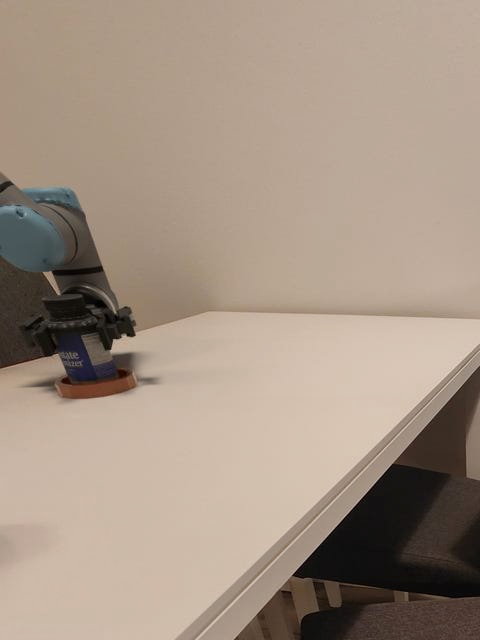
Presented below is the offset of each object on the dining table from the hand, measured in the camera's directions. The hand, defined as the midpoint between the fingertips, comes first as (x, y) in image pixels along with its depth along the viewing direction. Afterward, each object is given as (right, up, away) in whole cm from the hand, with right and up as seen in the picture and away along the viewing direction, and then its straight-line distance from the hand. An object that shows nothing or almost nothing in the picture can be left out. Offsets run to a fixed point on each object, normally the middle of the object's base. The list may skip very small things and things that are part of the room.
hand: (74, 341), depth 75 cm
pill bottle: (-2, -2, +8) cm, 8 cm away
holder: (-2, -4, +9) cm, 10 cm away
